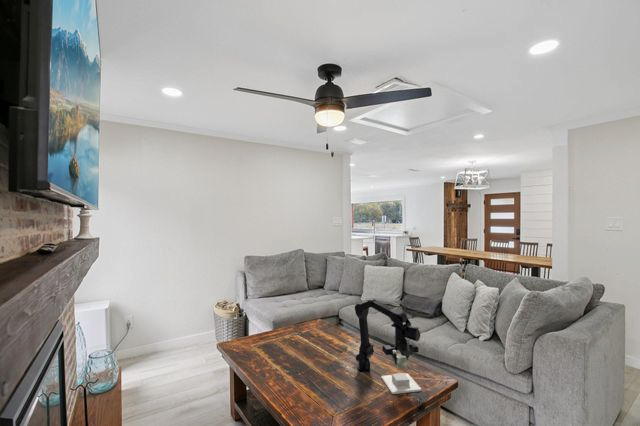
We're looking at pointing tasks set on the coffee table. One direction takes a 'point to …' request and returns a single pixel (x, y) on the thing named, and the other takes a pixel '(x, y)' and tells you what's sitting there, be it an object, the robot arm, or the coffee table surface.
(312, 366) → the coffee table surface
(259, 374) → the coffee table surface
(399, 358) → the sage block
